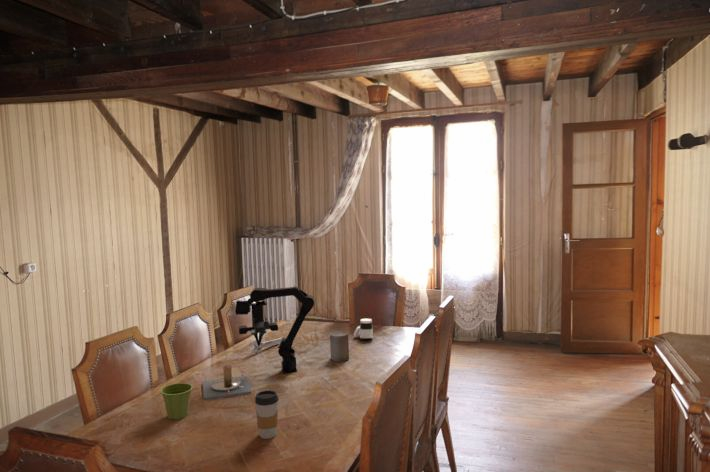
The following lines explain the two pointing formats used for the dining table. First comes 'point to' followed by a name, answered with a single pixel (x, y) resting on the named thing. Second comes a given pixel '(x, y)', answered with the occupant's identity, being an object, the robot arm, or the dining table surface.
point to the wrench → (263, 345)
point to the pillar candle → (339, 346)
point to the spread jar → (364, 330)
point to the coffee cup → (267, 413)
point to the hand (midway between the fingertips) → (258, 345)
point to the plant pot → (177, 399)
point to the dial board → (213, 394)
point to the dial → (226, 381)
